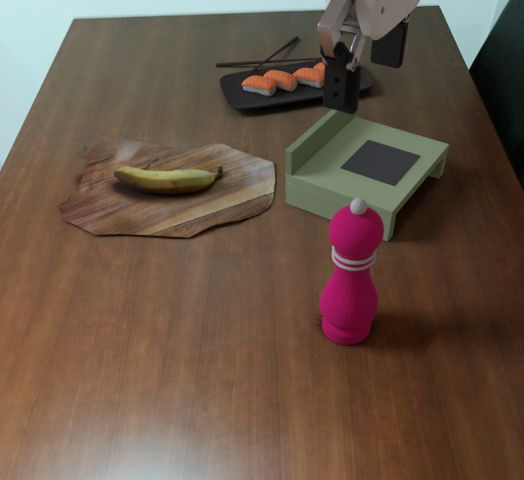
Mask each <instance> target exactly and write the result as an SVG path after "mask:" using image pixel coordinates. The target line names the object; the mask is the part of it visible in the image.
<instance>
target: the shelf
mask: <svg viewBox="0 0 524 480" xmlns="http://www.w3.org/2000/svg"><path fill="white" fill-rule="evenodd" d="M356 113H357V111H356V112H355V113H354V114H348V113H344V112H340V111H337V110H333V109H330V110H329V111H327V112H326V113H325V114H324V115H322V116H321V118H320V119H319V120H318V121H316V122H315V123H314V124H313V125H312V126H311V127H309V128H308V129H307V130H306V131H305V132H304V133H303V134H302V135H300V136H299V138H297V139H296V140H295V141H294V142H293V143H292V144H290V145H289V146H288V147H287V148H286V149H285V150H284V152H285V153H284V160H285V161H284V162H285V163H284V164H285V166H284V167H285V169H284V170H285V172H284V174H285V204H287V205H289V206H292V207H295V208H297V209H300V210H303V211H305V212H308V213H311V214H313V215H315V216H318V217H321V218H324V219H327V220H329V221H331V220H332V218H333V216H334V215H335V214H336V213H337V212H338V211H339V210H340V209H342V208H343V207H346V206H349V205H351V202H352V201H353V200H354V199H356V198H362V199H364V200H365V201H366V203H367V206H368V207H370V208H372V209H374V210H375V211H376V212H377V213H378V214H379V215H380V217H381V218H382V221H383V224H384V236H383V240H382V241H385V242H389V241H390V240H391V239H392V237H393V235H394V229H395V223H396V218H397V214H398V213H399V212H400V210H401V209H402V208H403V207H404V205H405V204H406V203H407V202H408V201H409V199H410V198H411V197H412V196H413V194H414V193H415V192H416V191H417V190H418V189H419V188H420V186H421V185H422V184H423V183H424V182H425V180H426V179H427V178H428V177H431V178H434V179H437V180H440V179H441V177H442V175H443V174H444V171H445V166H446V161H447V157H448V153H449V148H450V144H449V143H446V142H443V141H439V140H435V139H432V138H429V137H426V136H422V135H418V134H415V133H413V132H408V131H406V130H402V129H399V128H395V127H391V126H388V125H385V124H381V123H378V122H375V121H371V120H368V119H365V118H361V117H358V116H356Z"/></svg>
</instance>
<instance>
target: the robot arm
mask: <svg viewBox="0 0 524 480" xmlns="http://www.w3.org/2000/svg"><path fill="white" fill-rule="evenodd" d="M420 2H421V0H325V10H324V12H323V13H322V16H321V18H320V19H319V20H318V23H317V27H316V32H317V36H318V37H317V38H318V40H319V53H320V55H321V57H322V63H323V65H325V70H324V93H323V98H322V104H323V106H324V107H325V108H327V109H330V110H331V109H333V110H337V111H340V112H344V113H348V114H354V113H355V112H356V113H357V111H358V109H359V101H360V92H361V91H360V81H361V70H362V67H363V66H362V67H358V66H357V64H358V62H359V61H360V58H361V55H362V52H363V50H364V47H365V43H366V42H367V38H368V37H369V38H370V39H371V47H370V62H371V63H373V64H375V65H380V66H383V67H388V68H392V69H399V68H401V67H402V65H403V64H404V58H405V52H406V51H405V50H406V44H407V36H408V30H409V22H408V21H409V20H410V18H411V15H412V11H413V10H415V8H416V7H418V5H419V3H420ZM350 21H351V22H356V23H358V25H359V26H358V25H354V24H353V25H352V24H348V22H350ZM342 36H343V37H348V38H351V39H353V41H352V44H351V47H350V49H349V48H348V47H347V45H346V43H345V42H343V41H341V38H342ZM359 63H360V62H359ZM359 91H360V92H359ZM356 113H355V114H356Z"/></svg>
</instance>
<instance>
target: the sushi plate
mask: <svg viewBox="0 0 524 480" xmlns="http://www.w3.org/2000/svg"><path fill="white" fill-rule="evenodd" d="M298 40H299V36H298V35H295V36H294V37H293V38H291V39H290V40H289V41H287V42H286V43H285V44H283V46H281V47H280V48H278V49H277V50H276V51H275V52H274V53H272V54H271V55H270V56H268V58H266V59H264V60H251V61H250V60H249V61H248V60H246V61H230V62H216V63H215V67H216V68H221V67H236V66H247V65H249V66H250V65H257V66H255V67H254V68H253V69H250V70H244V71H243V70H242V71H237V72H232V73H228V74H224V75H223V76H221V77H220V78H219V87H220V89H221V92H222V94H223V97H224V99H225V102H226V103H227V105H228V106H229V107H230V108H231V110H236V111H247V110H249V111H250V110H256V109H262V108H263V109H264V108H268V107H269V108H270V107H274V106H275V107H276V106H281V105H287V104H295V103H299V102H306V101H311V100H318V99H323V93H324V70H325V65H323V63H322V56H321V57H307V58H306V57H305V58H304V57H303V58H289V59H288V58H287V59H272V58H274V57H275V56H277V55H278V54H280V53H281V52H282V51H284V50H285V49H287V48H289V47H290V46H291V45H292V44H294V43H295V42H296V41H298ZM287 62H295V63H289V64H282V65H276V66H269V67H263V68H260V67H261V66H264V64H276V63H287ZM357 66H358V67H362V70H361V81H360V91H359V93H360V92H364V91H368V90H370V89H371V88H373V86H374V85H373V84H374V82H373V80H372V78H371V76H370V75H369V73H368V71H366V69H365V68H364V67H363V66H362V65H361V63H360V62H358V64H357Z"/></svg>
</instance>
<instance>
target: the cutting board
mask: <svg viewBox="0 0 524 480" xmlns="http://www.w3.org/2000/svg"><path fill="white" fill-rule="evenodd" d="M275 183H276V169H275V164H274V161H270V160H267V159H265V158H261V157H259V156H255V155H253V154H249V153H247V152H244V151H242V150H239V149H237V148H233V147H231V146H229V145H227V144H224V143H218V142H217V143H215V142H214V143H211V144H205V145H203V146H198V147H189V148H180V147H174V146H171V145H164V144H158V143H157V144H156V143H151V142H146V141H141V140H136V139H131V138H129V139H116V140H106V141H103V142H100V143H97V144H94V146H93V147H92V148H91V149H90V150H89V151H88V152H87V158H86V163H85V170H84V172H83V176H82V177H81V180H80V183H79V185H78V186H77V187H76V189H75V190H74V191H73V193H72V194H71V195H70V196H69V197H68V198H67V199H66V200H65V201H63V202H61V203H60V204H57V205H55V207H56V208H59V209H60V211H61V218H62V220H63V221H65V222H68V223H70V224H72V225H74V226H76V227H78V228H80V229H82V230H84V231H87V232H88V233H91V234H92V235H94V236H102V235H135V236H136V235H137V236H153V237H155V236H157V237H175V238H191V237H192V236H195V235H197V234H199V233H200V232H202V231H204V230H206V229H208V228H211V227H213V226H216V225H217V226H219V225H224V224H228V223H229V222H239V221H242V220H246V219H247V218H251V217H255V216H258V215H260V214H262V213H264V212H265V211H266V210H268V209H269V208H270V207H271V205H272V203H273V200H274V196H275V185H276V184H275Z"/></svg>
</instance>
